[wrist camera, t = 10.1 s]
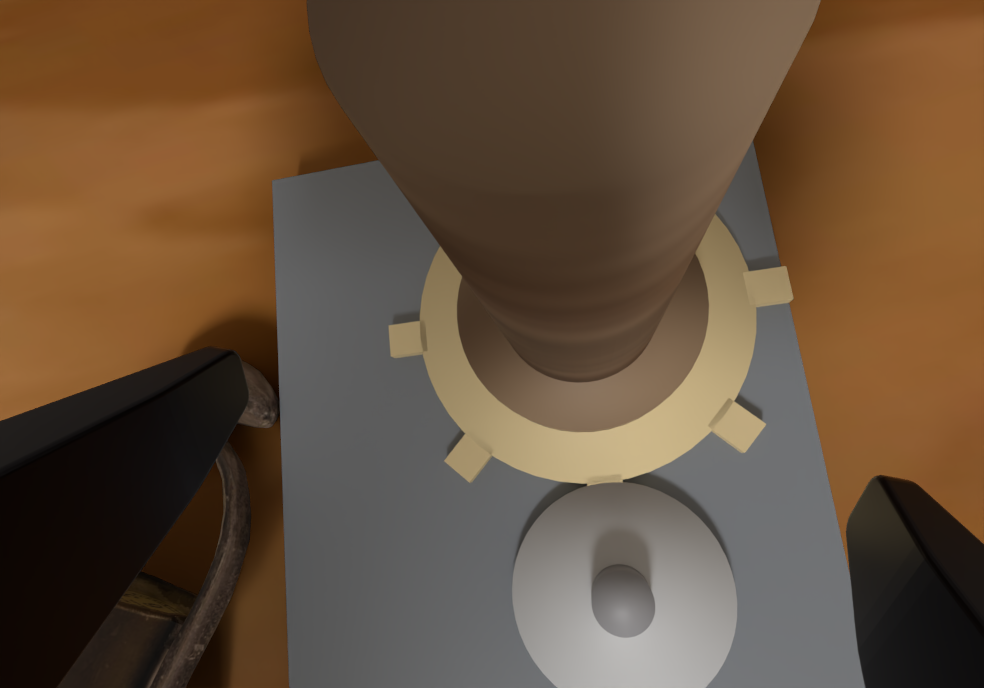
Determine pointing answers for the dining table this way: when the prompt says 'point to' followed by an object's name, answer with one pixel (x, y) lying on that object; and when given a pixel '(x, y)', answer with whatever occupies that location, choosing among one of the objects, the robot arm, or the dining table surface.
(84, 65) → the dining table surface
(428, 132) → the walnut spindle
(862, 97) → the dining table surface
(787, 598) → the gear board
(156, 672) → the brown curved metal piece
